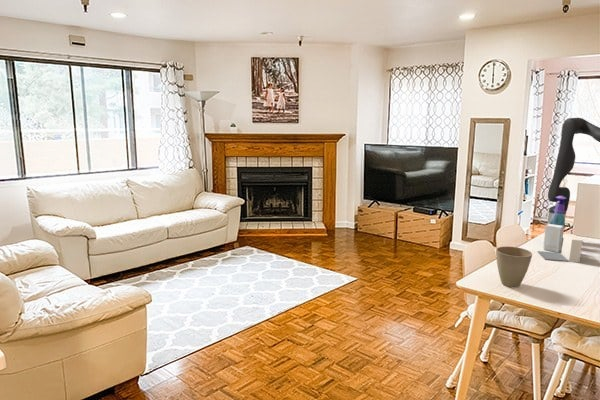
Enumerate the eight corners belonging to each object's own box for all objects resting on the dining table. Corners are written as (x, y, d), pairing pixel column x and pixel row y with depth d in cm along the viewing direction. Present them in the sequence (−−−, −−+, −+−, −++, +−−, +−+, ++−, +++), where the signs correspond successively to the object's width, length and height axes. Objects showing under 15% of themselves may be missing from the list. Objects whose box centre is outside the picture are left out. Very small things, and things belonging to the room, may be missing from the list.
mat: (537, 252, 253) (537, 251, 253) (559, 253, 251) (559, 252, 251) (545, 259, 240) (545, 258, 240) (568, 261, 238) (568, 260, 237)
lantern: (549, 240, 276) (555, 193, 270) (569, 245, 267) (576, 196, 261) (539, 244, 268) (546, 195, 262) (560, 249, 259) (567, 198, 253)
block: (561, 254, 250) (564, 233, 248) (571, 255, 249) (574, 234, 246) (568, 261, 238) (572, 239, 236) (579, 262, 237) (582, 240, 235)
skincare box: (561, 251, 256) (565, 225, 253) (558, 253, 252) (561, 227, 249) (545, 247, 262) (549, 223, 259) (542, 249, 258) (545, 224, 255)
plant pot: (497, 276, 215) (501, 244, 211) (531, 284, 205) (536, 250, 202) (488, 285, 203) (491, 251, 200) (523, 293, 194) (527, 258, 191)
